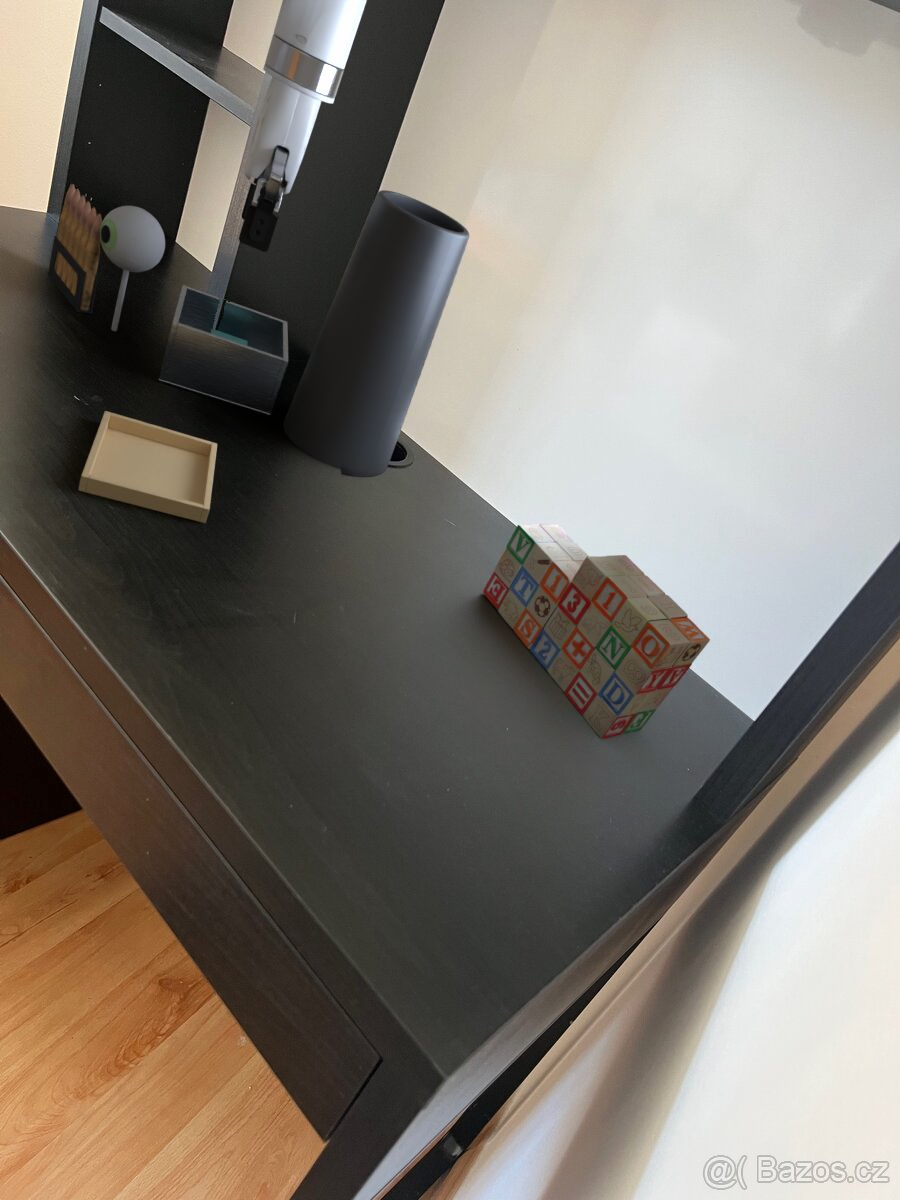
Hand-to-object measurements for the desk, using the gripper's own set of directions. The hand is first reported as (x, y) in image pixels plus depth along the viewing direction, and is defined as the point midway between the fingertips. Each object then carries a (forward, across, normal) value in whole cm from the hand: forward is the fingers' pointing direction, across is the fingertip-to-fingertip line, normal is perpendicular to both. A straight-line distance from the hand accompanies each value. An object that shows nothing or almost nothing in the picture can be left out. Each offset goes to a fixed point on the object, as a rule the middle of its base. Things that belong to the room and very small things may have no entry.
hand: (253, 234), depth 95 cm
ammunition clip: (+19, -12, -18) cm, 29 cm away
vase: (+18, +8, +16) cm, 25 cm away
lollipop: (+19, -6, -12) cm, 23 cm away
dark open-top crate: (+18, 0, +1) cm, 18 cm away
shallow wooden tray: (+19, +26, -4) cm, 33 cm away
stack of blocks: (+18, +41, +38) cm, 58 cm away
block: (+18, 0, +1) cm, 18 cm away
